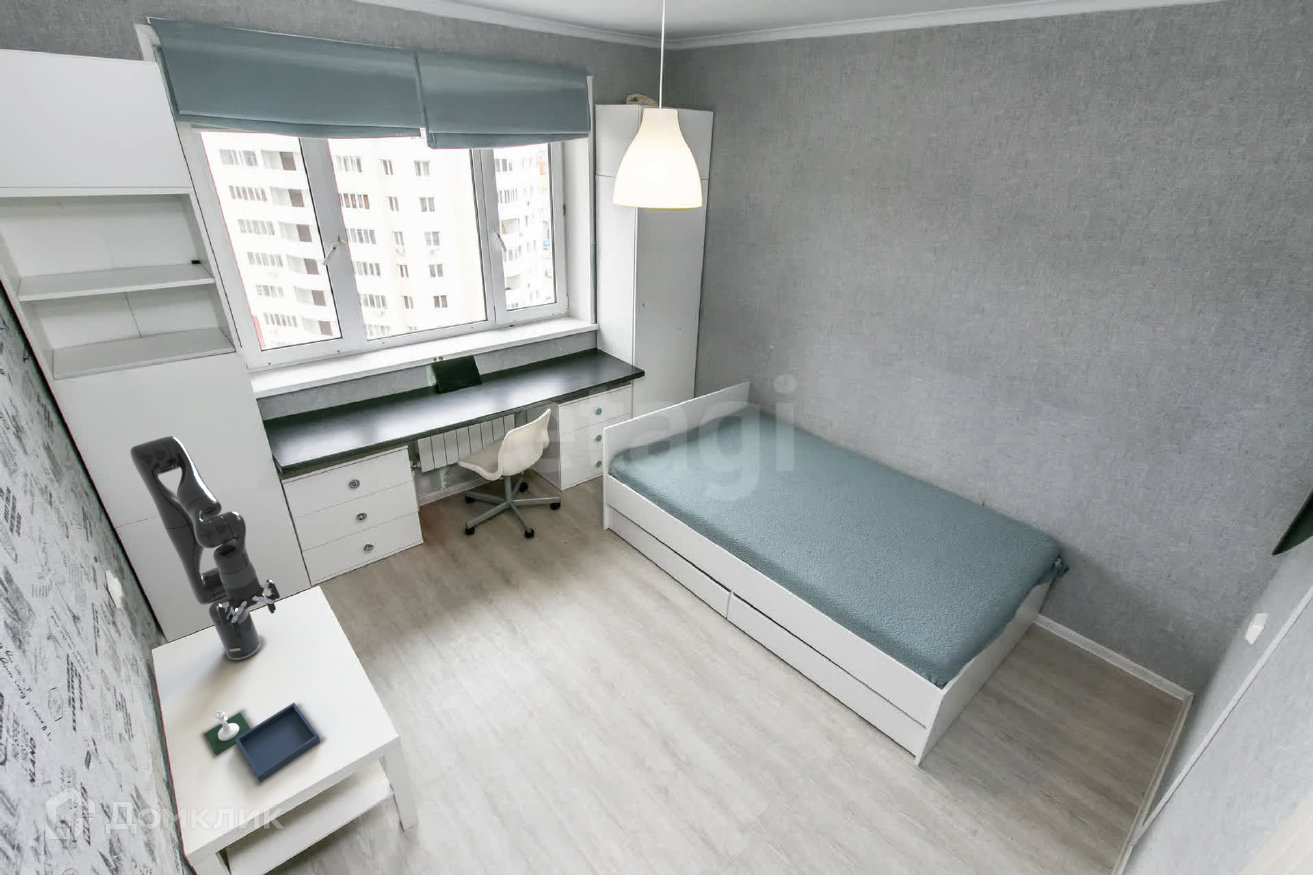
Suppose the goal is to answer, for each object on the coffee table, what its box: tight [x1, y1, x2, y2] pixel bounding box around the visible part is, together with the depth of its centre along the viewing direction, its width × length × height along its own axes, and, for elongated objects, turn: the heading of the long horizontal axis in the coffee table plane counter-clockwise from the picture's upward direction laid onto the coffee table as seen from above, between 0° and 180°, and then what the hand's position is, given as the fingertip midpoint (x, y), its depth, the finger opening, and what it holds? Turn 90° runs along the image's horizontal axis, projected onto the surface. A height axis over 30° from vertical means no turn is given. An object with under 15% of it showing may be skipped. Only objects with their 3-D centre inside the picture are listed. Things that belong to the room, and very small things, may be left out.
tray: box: [234, 702, 321, 783], centre depth 165 cm, size 16×16×2 cm
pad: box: [203, 712, 251, 756], centre depth 167 cm, size 9×9×1 cm
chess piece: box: [215, 709, 239, 741], centre depth 164 cm, size 5×5×10 cm
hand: (255, 620), depth 167 cm, fingers open, 8 cm apart
